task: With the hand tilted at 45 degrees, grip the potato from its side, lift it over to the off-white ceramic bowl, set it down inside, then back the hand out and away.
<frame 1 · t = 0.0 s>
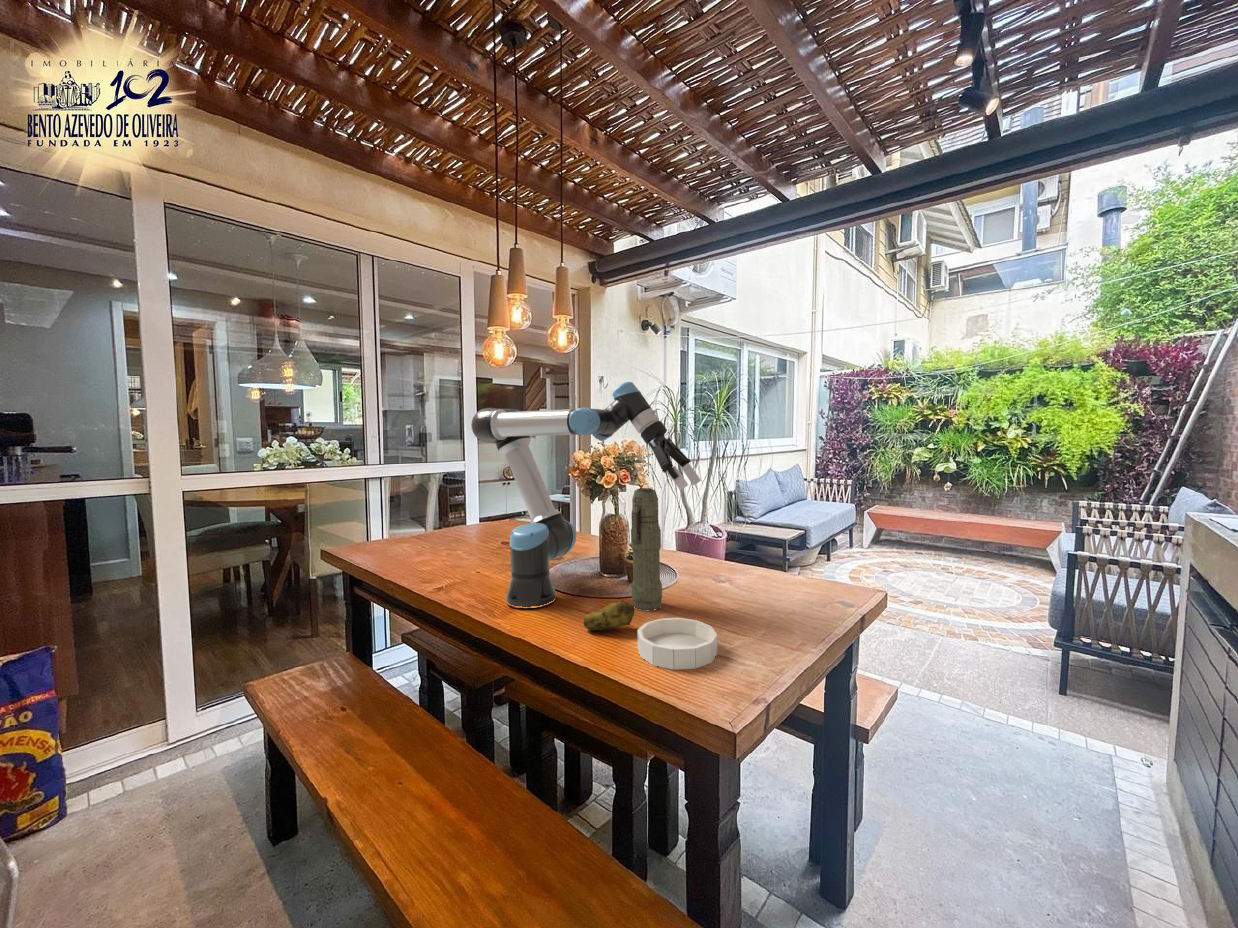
hand: (691, 485, 142), 36 cm above the table, tool tilted 35°, fingers open, 13 cm apart
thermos: (647, 606, 145), on the table
bowl: (676, 650, 114), on the table
potato: (609, 631, 127), on the table
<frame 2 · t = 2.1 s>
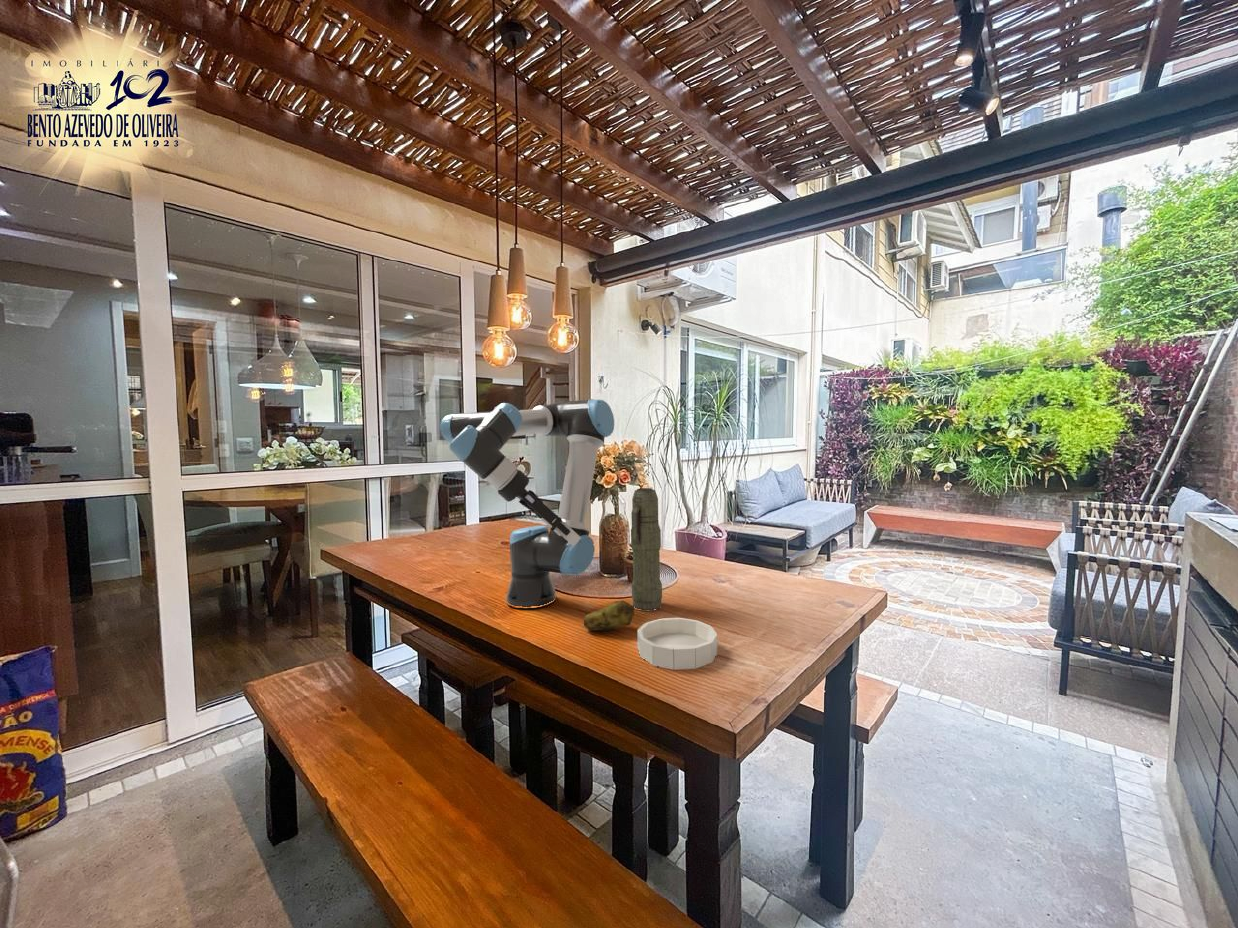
hand: (569, 536, 122), 26 cm above the table, tool tilted 45°, fingers open, 13 cm apart
nothing on the table moved.
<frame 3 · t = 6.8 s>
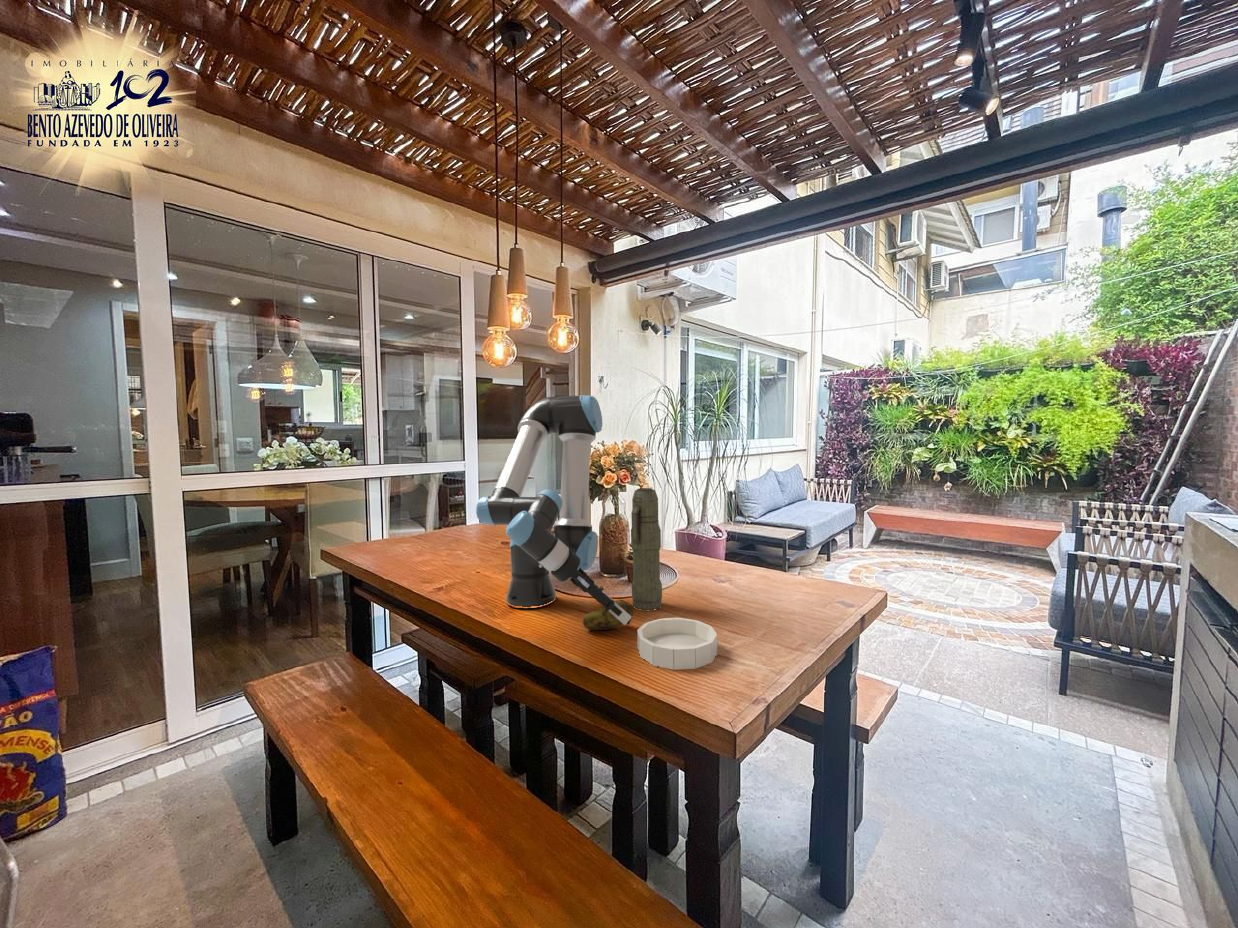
hand: (622, 614, 128), 4 cm above the table, tool tilted 45°, fingers closed on potato, 8 cm apart
potato: (609, 630, 127), on the table, touching gripper
everything else where it was.
when the fingers open (5 cm above the table, at t = 12.8 s): potato stays where it is, resting on bowl.
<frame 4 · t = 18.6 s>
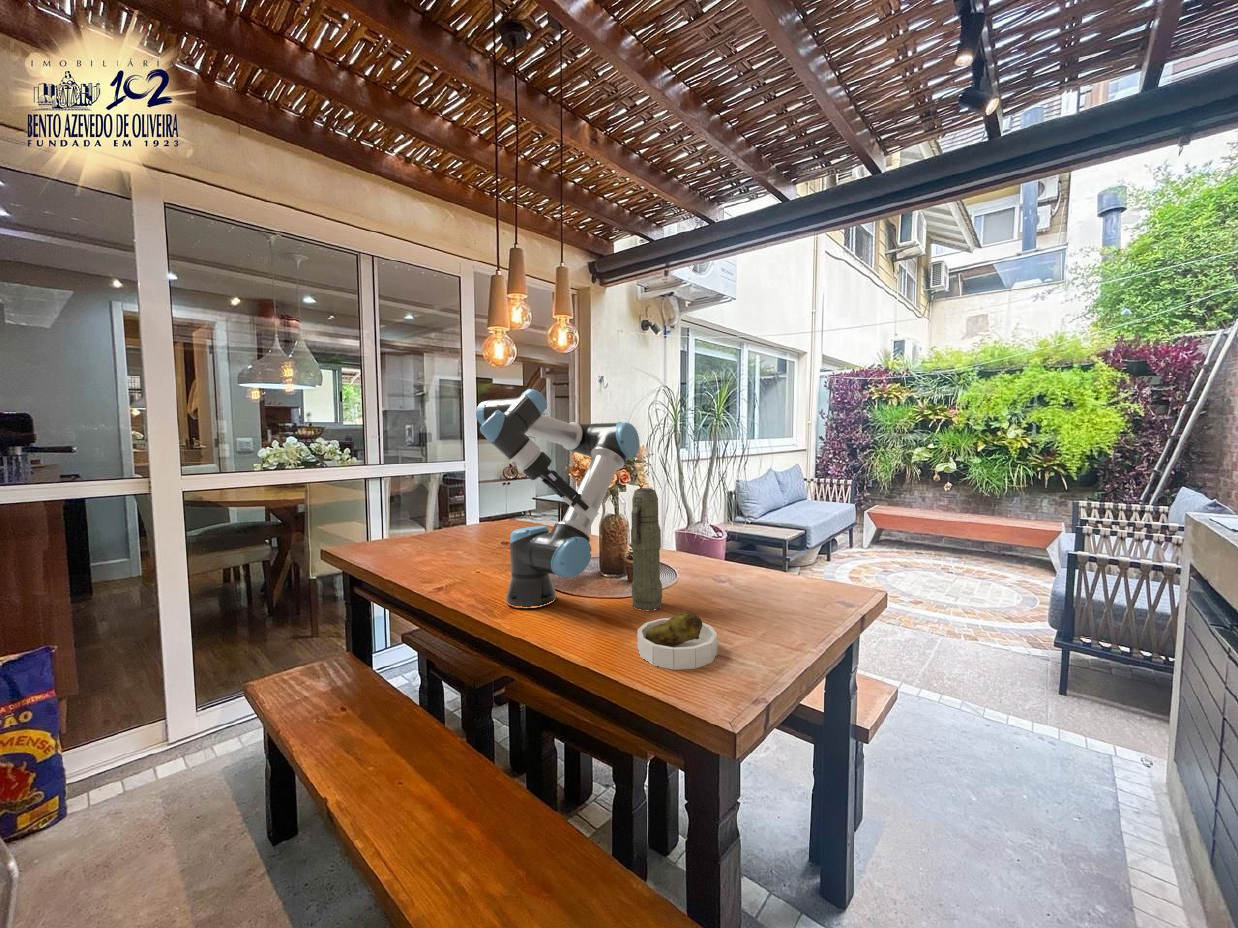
hand: (588, 513, 133), 30 cm above the table, tool tilted 45°, fingers open, 13 cm apart
potato: (674, 647, 115), point 1 cm above the table, touching bowl
everything else where it was.
at the end: potato inside the target area on the bowl (0.6 cm from its centre), point 0.8 cm above the bowl's base; the gripper is holding nothing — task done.
